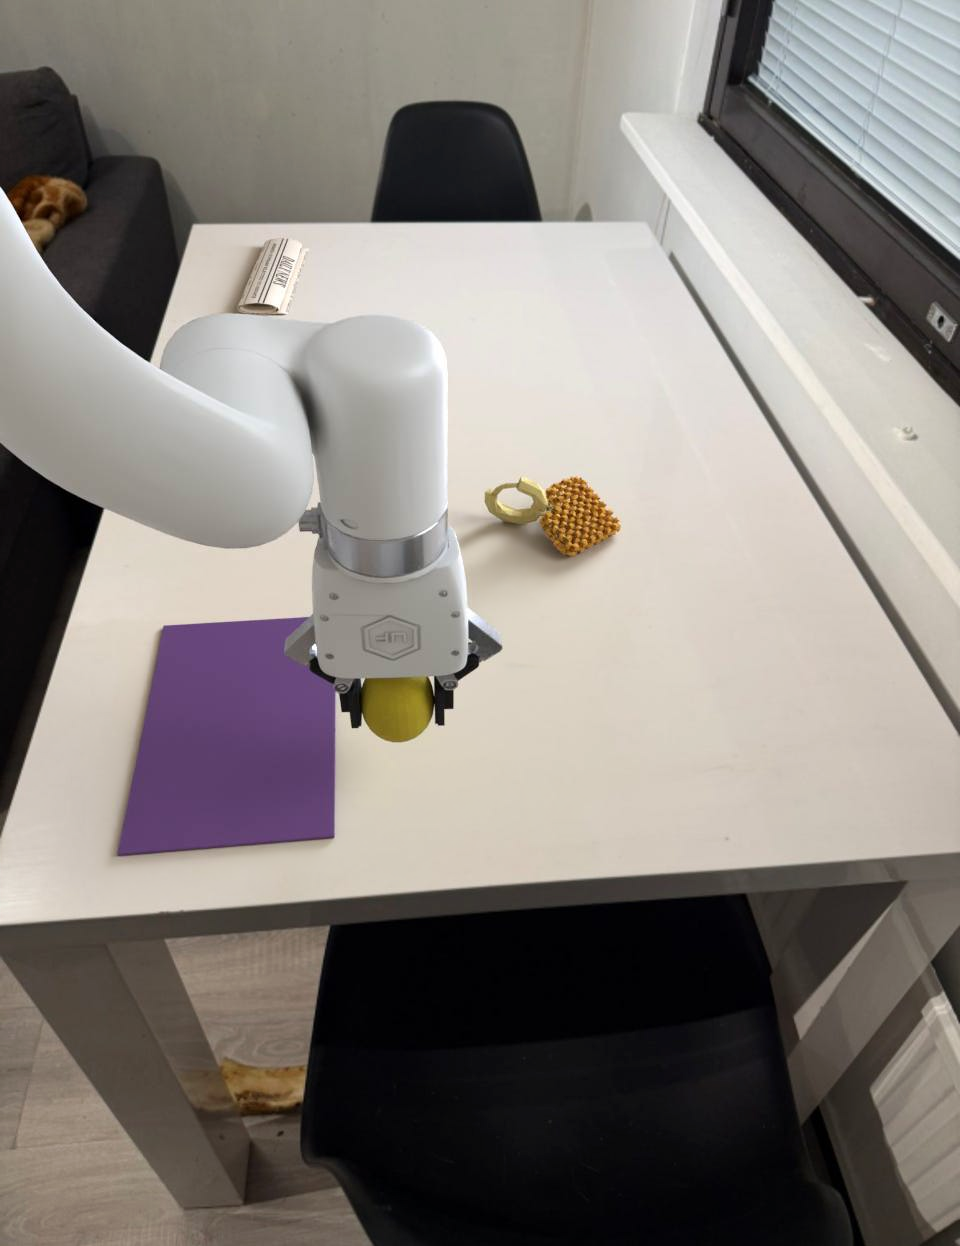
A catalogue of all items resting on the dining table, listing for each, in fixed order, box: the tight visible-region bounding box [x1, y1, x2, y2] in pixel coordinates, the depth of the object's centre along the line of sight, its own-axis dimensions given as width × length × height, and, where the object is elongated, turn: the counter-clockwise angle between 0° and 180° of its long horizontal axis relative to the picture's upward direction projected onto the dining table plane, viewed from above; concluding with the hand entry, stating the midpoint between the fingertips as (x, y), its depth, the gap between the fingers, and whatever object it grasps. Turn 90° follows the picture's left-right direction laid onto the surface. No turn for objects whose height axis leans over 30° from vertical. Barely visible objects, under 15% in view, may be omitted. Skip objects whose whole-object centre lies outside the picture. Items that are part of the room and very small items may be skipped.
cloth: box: [117, 616, 336, 857], centre depth 74 cm, size 24×16×1 cm, turn 6°
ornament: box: [484, 475, 622, 557], centre depth 92 cm, size 7×10×15 cm
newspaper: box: [236, 237, 310, 316], centre depth 134 cm, size 24×7×2 cm, turn 0°
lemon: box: [360, 676, 435, 743], centre depth 65 cm, size 6×6×8 cm
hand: (398, 710), depth 66 cm, fingers closed on lemon, 5 cm apart
